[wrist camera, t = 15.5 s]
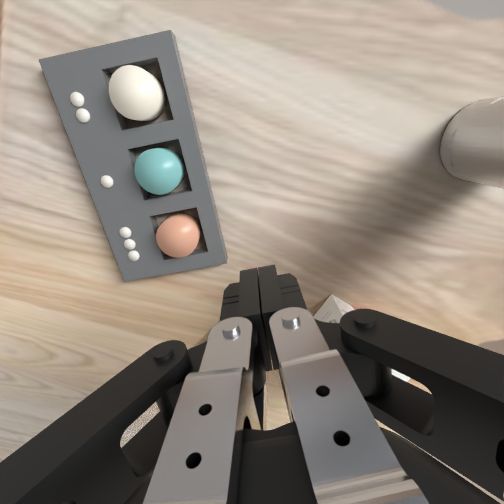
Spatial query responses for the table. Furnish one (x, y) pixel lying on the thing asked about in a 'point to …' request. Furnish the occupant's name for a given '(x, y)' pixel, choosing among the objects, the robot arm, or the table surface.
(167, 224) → the terracotta button
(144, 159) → the teal button
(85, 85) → the button panel
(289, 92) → the table surface
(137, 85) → the cream button
